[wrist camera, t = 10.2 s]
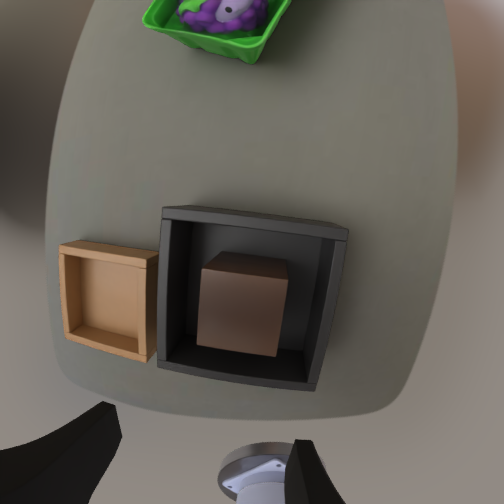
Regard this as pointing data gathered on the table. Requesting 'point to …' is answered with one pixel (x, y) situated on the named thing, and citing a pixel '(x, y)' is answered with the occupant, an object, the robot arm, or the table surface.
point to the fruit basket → (218, 24)
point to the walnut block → (242, 303)
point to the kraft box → (110, 297)
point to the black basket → (296, 304)
